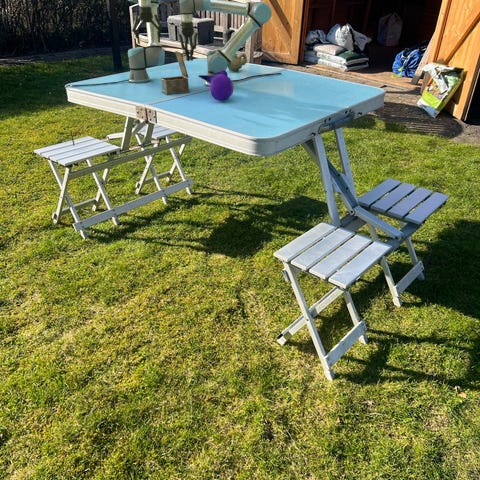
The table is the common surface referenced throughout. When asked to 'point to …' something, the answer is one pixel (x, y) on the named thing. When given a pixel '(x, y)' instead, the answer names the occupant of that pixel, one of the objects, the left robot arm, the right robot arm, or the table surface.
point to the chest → (175, 85)
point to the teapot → (237, 62)
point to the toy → (219, 85)
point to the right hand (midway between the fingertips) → (189, 60)
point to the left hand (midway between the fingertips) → (149, 42)
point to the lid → (182, 62)
